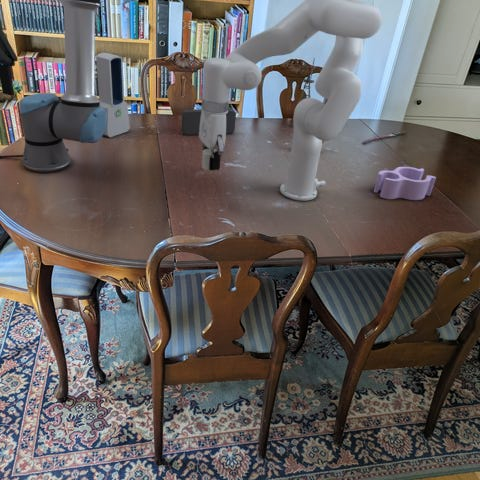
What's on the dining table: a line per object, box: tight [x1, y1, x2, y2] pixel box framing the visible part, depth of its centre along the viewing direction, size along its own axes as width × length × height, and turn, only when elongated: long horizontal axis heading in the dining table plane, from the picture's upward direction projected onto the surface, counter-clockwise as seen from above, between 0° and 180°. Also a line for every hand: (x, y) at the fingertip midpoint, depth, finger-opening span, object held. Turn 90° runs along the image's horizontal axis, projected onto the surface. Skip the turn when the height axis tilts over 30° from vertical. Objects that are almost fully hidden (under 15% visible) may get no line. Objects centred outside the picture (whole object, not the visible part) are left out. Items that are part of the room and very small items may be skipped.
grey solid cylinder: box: [201, 149, 218, 172], centre depth 139 cm, size 5×5×5 cm
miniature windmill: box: [290, 57, 315, 127], centre depth 211 cm, size 9×8×30 cm
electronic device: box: [95, 52, 131, 138], centre depth 181 cm, size 12×8×30 cm, turn 148°
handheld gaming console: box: [180, 108, 237, 135], centre depth 196 cm, size 23×3×10 cm, turn 108°
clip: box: [373, 166, 437, 201], centre depth 164 cm, size 20×12×7 cm, turn 109°
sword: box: [363, 132, 408, 145], centre depth 213 cm, size 31×3×1 cm, turn 126°
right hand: (210, 164), depth 140 cm, fingers closed on grey solid cylinder, 5 cm apart
